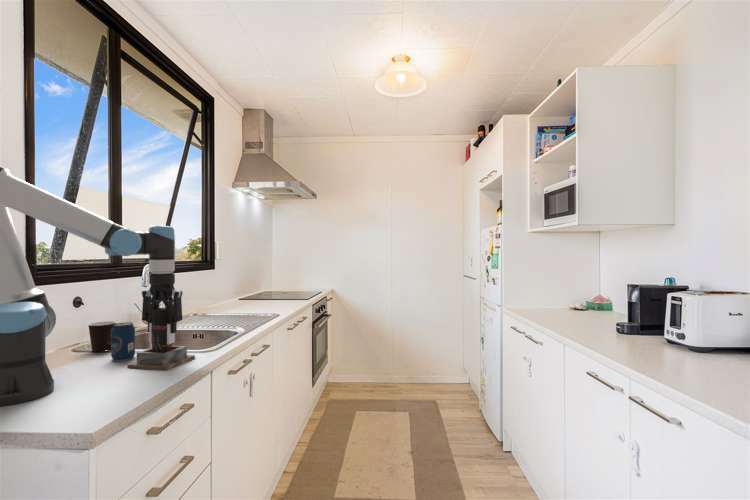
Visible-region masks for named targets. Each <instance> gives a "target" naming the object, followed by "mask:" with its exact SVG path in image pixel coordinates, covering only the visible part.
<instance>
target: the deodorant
mask: <svg viewBox="0 0 750 500" xmlns="http://www.w3.org/2000/svg"><path fill="white" fill-rule="evenodd" d="M168 323H169V319H168V315H167V310H166V308H165V307H159V308H156V309H152V343H151V348H152V352H155V353H166V352H169V351H172V346H173V343H171V344H167V324H168Z"/></svg>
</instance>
